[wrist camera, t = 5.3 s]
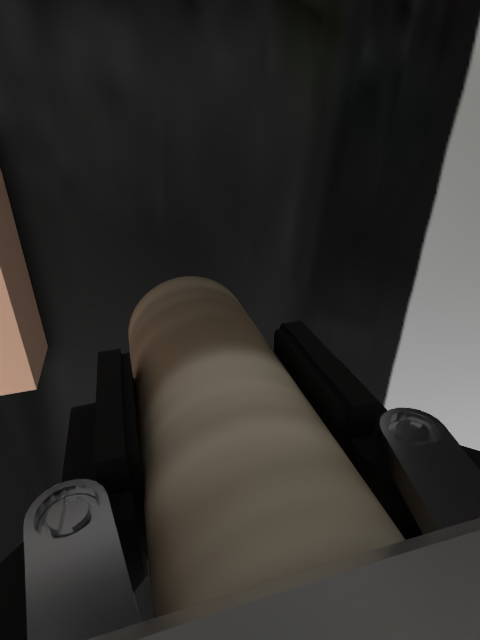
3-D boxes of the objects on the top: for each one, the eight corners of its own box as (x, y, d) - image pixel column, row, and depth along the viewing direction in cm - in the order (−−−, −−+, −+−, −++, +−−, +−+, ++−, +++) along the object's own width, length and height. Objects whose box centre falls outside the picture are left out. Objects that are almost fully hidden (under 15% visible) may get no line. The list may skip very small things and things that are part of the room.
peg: (119, 284, 13) (140, 623, 4) (242, 269, 14) (465, 523, 5) (136, 389, 15) (176, 778, 6) (245, 370, 16) (413, 683, 7)
